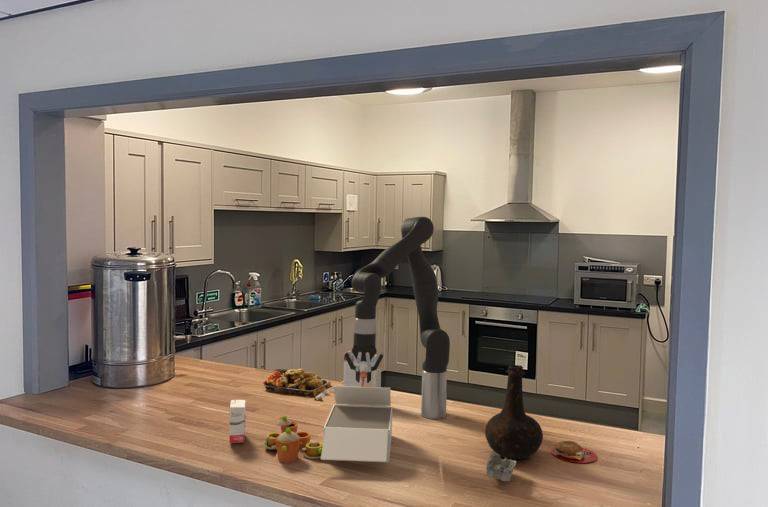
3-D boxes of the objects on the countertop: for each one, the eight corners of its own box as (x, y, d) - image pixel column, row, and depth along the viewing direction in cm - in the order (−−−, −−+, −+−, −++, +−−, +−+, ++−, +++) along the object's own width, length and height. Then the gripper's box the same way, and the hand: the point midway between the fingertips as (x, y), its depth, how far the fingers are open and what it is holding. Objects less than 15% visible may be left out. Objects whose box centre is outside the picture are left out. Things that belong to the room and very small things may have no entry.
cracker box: (380, 404, 223) (382, 353, 222) (375, 409, 217) (376, 356, 216) (349, 400, 228) (350, 349, 227) (342, 404, 222) (343, 352, 221)
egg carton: (491, 463, 167) (492, 450, 167) (516, 470, 164) (518, 456, 164) (482, 476, 157) (484, 462, 157) (509, 484, 154) (511, 469, 154)
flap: (390, 405, 189) (391, 386, 195) (390, 388, 182) (391, 368, 188) (335, 403, 190) (337, 384, 196) (333, 386, 183) (335, 367, 189)
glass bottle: (509, 469, 165) (512, 376, 163) (473, 448, 180) (475, 362, 179) (554, 459, 173) (557, 370, 172) (515, 439, 189) (518, 357, 187)
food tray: (245, 393, 236) (245, 368, 235) (276, 378, 260) (276, 356, 259) (319, 404, 224) (320, 377, 224) (345, 387, 248) (345, 363, 248)
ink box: (244, 442, 181) (245, 406, 180) (229, 443, 180) (229, 407, 179) (245, 433, 189) (245, 398, 189) (230, 434, 188) (230, 399, 188)
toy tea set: (331, 458, 171) (331, 427, 170) (284, 469, 162) (284, 437, 162) (295, 431, 193) (296, 404, 192) (252, 440, 184) (252, 411, 184)
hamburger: (594, 467, 168) (594, 448, 168) (546, 457, 175) (547, 439, 175) (600, 451, 181) (600, 433, 181) (555, 443, 187) (556, 425, 187)
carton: (391, 435, 190) (392, 406, 189) (388, 475, 159) (388, 440, 159) (333, 433, 191) (333, 404, 190) (318, 472, 160) (318, 438, 160)
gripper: (385, 330, 193) (384, 380, 193) (345, 329, 193) (344, 378, 193) (384, 334, 185) (383, 385, 185) (343, 332, 186) (341, 384, 186)
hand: (363, 382), depth 189 cm, fingers closed on flap, 2 cm apart
